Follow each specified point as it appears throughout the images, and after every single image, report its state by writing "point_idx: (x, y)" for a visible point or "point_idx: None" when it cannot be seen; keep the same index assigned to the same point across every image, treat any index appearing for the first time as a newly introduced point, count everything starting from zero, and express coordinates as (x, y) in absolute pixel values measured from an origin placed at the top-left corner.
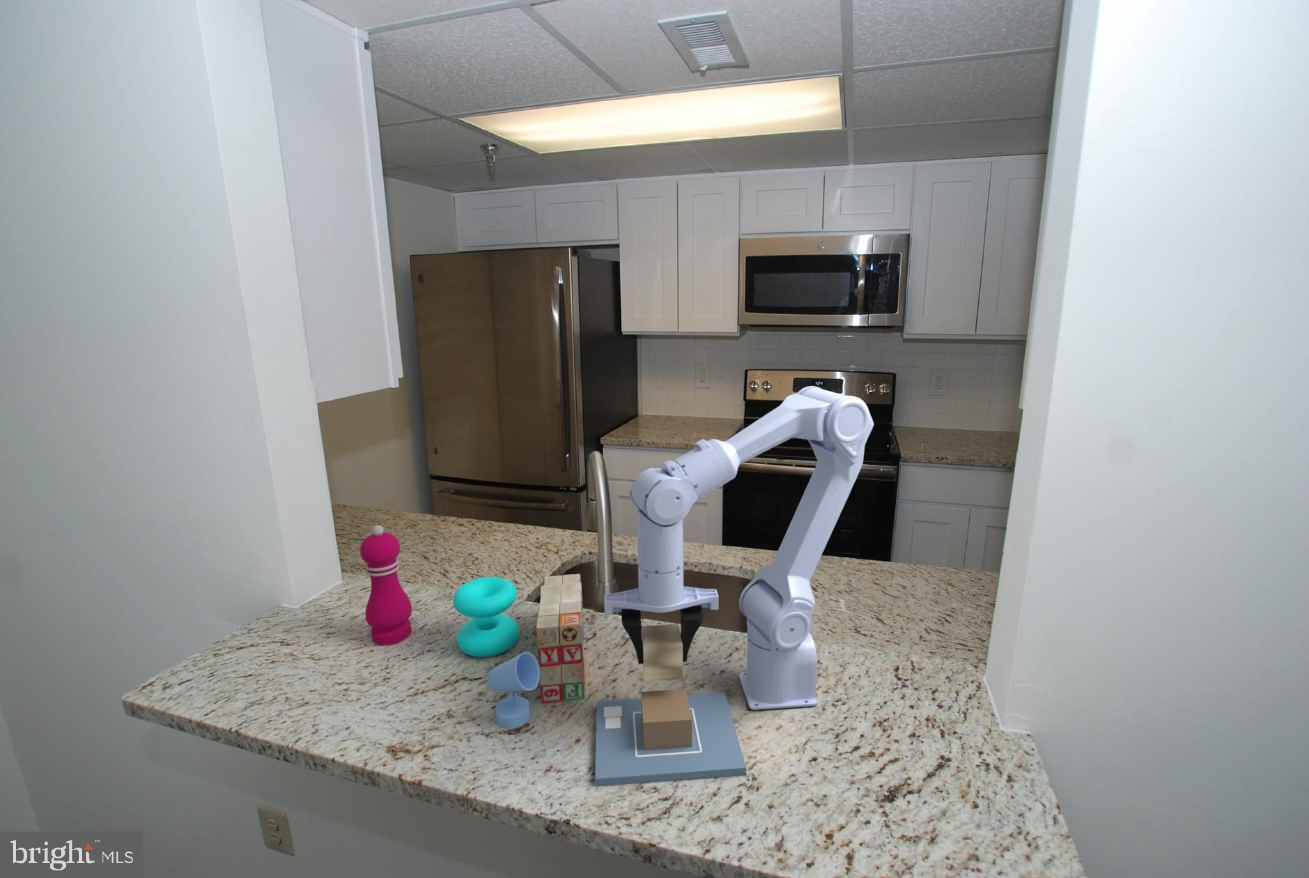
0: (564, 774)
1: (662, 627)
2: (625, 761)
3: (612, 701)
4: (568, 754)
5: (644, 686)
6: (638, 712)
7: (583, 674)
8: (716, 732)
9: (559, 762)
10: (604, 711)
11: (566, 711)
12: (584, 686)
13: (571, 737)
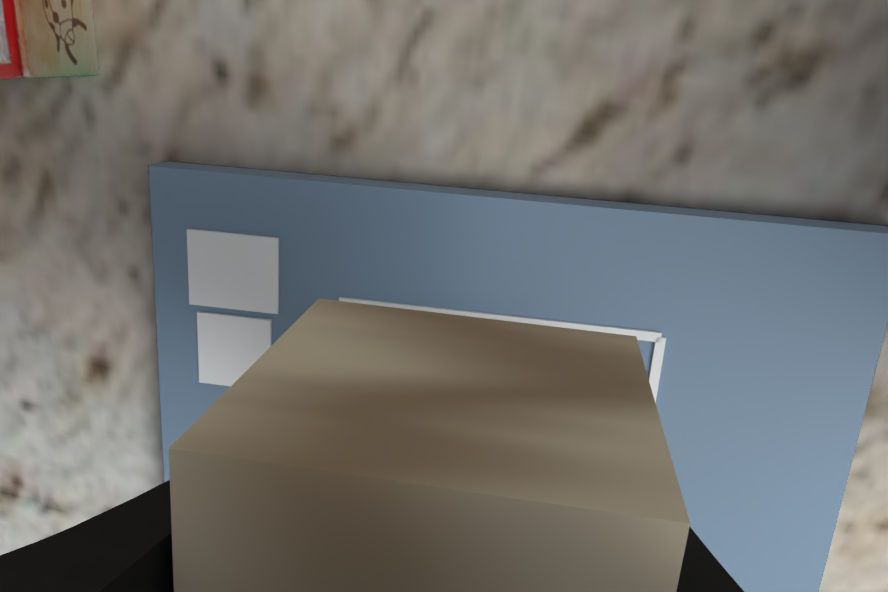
0: (70, 527)
1: (442, 546)
2: None
3: (231, 186)
4: (71, 436)
5: (436, 17)
6: None
7: (13, 4)
8: (730, 521)
9: (43, 467)
10: (190, 263)
11: (21, 162)
12: (73, 2)
13: (70, 344)
